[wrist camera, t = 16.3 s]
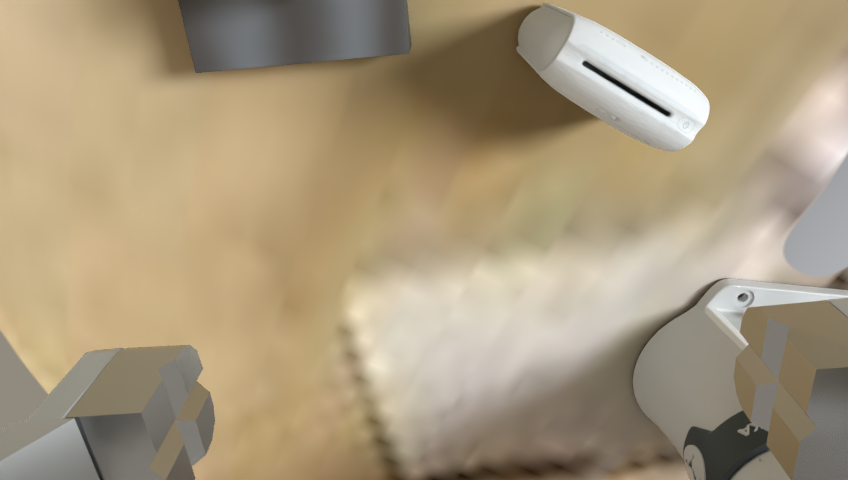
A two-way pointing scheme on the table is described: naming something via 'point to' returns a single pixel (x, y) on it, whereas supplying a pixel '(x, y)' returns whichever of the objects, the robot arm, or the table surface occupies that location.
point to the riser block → (292, 31)
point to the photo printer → (612, 78)
